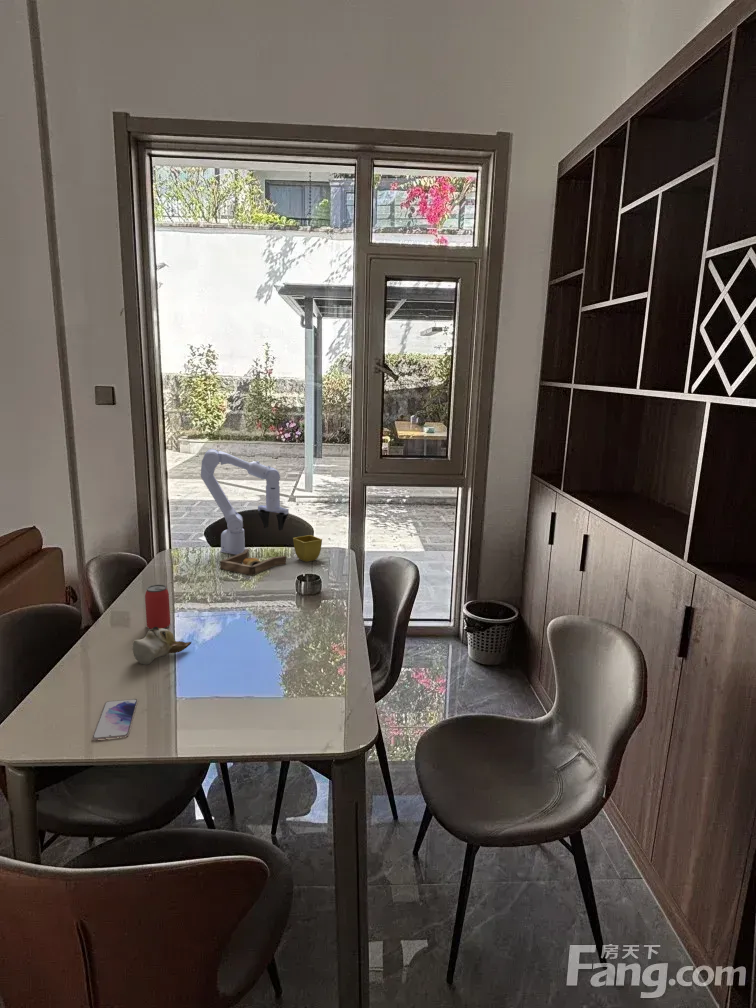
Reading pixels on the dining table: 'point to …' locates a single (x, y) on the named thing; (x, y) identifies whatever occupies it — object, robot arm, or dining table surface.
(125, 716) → the smartphone
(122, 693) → the dining table surface
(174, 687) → the dining table surface
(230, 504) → the robot arm
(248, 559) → the pastry
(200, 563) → the dining table surface
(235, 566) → the holder
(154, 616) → the beer can
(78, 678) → the dining table surface
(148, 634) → the ceramic sculpture
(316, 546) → the flower pot
